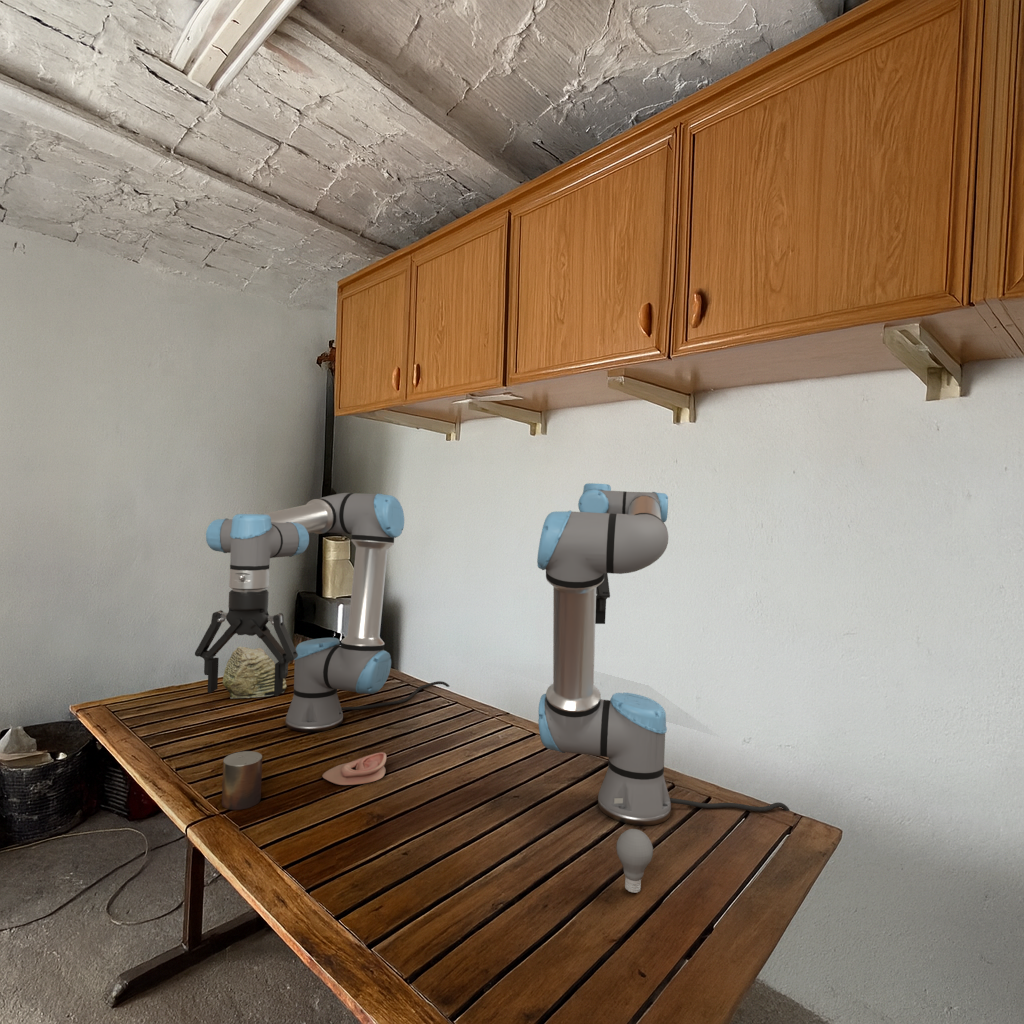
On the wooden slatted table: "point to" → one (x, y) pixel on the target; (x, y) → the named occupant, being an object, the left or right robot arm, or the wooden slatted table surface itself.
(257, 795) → the canister
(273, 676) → the fossil
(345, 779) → the anatomical model
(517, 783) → the wooden slatted table surface
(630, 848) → the light bulb
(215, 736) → the wooden slatted table surface
